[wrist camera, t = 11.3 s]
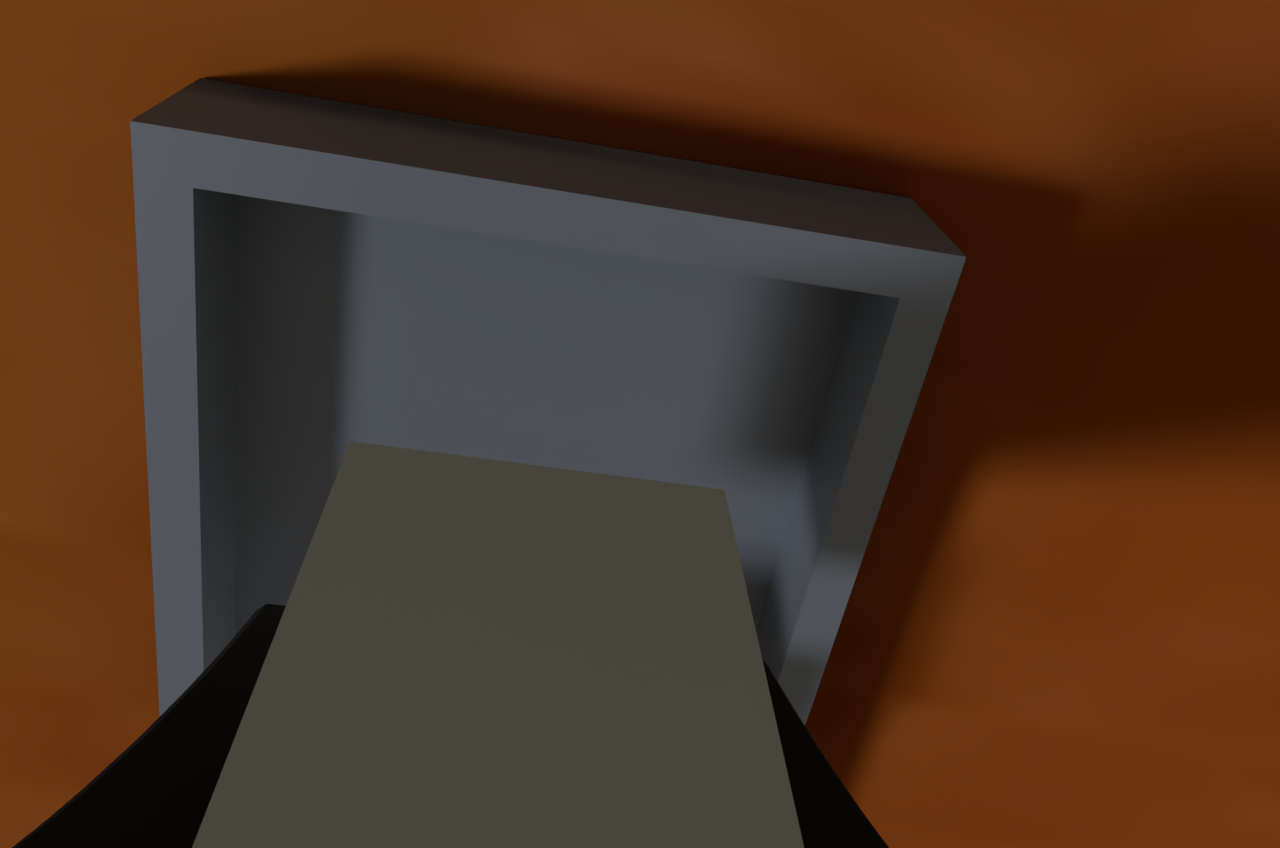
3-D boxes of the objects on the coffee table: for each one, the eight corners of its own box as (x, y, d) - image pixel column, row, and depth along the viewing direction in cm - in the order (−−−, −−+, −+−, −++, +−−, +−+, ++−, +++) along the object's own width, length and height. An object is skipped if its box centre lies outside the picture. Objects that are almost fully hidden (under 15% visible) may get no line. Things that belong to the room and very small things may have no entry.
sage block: (656, 754, 15) (696, 1245, 10) (334, 723, 14) (190, 1229, 9) (724, 489, 13) (823, 934, 8) (350, 441, 12) (177, 886, 7)
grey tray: (708, 852, 26) (722, 965, 24) (213, 811, 25) (170, 926, 22) (911, 198, 18) (966, 256, 16) (200, 77, 17) (129, 120, 14)
